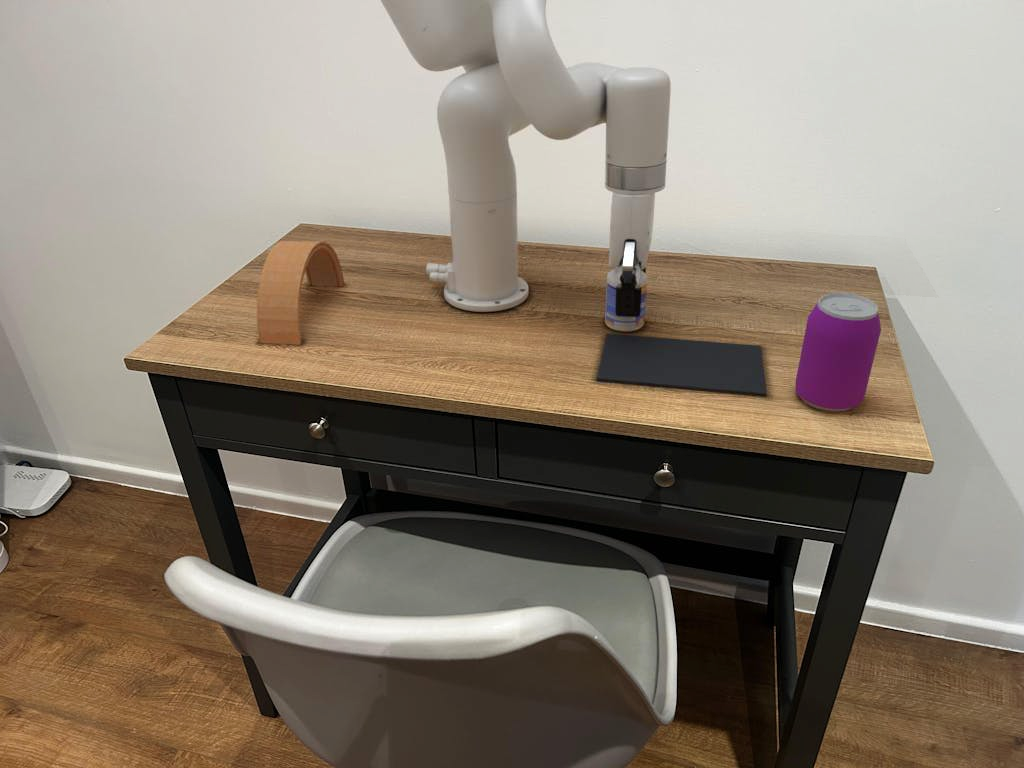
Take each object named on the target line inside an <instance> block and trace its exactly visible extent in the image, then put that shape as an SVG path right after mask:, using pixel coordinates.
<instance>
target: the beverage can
mask: <svg viewBox="0 0 1024 768" xmlns="http://www.w3.org/2000/svg"><path fill="white" fill-rule="evenodd" d="M881 332H882V326H881V321H880V313H879V306H878V305H877V304H876V303H875V302H874V301H872V299H869V298H867V297H865V296H862V295H858V294H854V293H849V292H847V293H846V292H833V293H827V294H825V295H822V296H821V297H820V298H818V301H817V302H816V303H815V306H814V307H813V308H812V310H811V311H810V313H809V315H808V316H807V319H806V326H805V331H804V334H803V335H804V336H803V339H802V346H801V351H800V356H799V362H798V367H797V370H796V371H797V372H796V378H795V387H794V388H795V389H794V390H795V392H796V394H797V395H798V397H800V398H801V400H802V401H803V402H804V403H806V405H809V406H810V407H812V408H815V409H818V410H821V411H824V412H825V411H826V412H832V413H834V412H836V413H839V412H840V413H841V412H845V411H849V410H851V409H854V408H856V407H858V406H859V405H861V403H862V402H863V400H864V398H865V397H866V392H867V389H868V384H869V380H870V376H871V372H872V368H873V364H874V360H875V357H876V351H877V349H878V344H879V340H880V337H881Z"/></svg>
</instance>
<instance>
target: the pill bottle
mask: <svg viewBox="0 0 1024 768" xmlns="http://www.w3.org/2000/svg"><path fill="white" fill-rule="evenodd" d="M634 264H638V262H634ZM618 273H619V265H618V267H617V268H613V269H610V271H609V272H608V273H607V274H606V275H607V276H606V287H605V288H606V292H605V316H604V317H605V318H604V322H605V325H606V326H607V327H608V328H610V329H611V330H614V331H618V332H634V331H638V330H640V329H641V328H642V327H644V324H645V318H646V317H645V315H646V303H647V302H646V301H647V289H648V288H647V287H648V277H647V274H645V273H644V272H643V271H642V270H641V273H640V286H639V287H642V290H641V313H640V316H639V317H628V316H617V315H616V313H615V312H616V286H618ZM633 274H635V277H636V271H633ZM635 280H636V279H635Z"/></svg>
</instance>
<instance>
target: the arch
mask: <svg viewBox="0 0 1024 768" xmlns="http://www.w3.org/2000/svg"><path fill="white" fill-rule="evenodd" d="M305 276H306V280H307V286H316V287H343V286H344V285H345V278H344V274H343V268H342V266H341V262H340V259H339V256H338V253H336V250H335V248H334V247H332V245H331V244H330V243H327V242H326V241H311V240H310V241H305V240H281V241H279V242H277V243H276V244H275V245H274V246H272V248H271V250H270V251H269V253H268V255H267V257H266V259H265V260H264V264H263V267H262V270H261V275H260V279H259V283H258V291H257V298H256V299H257V301H256V302H257V303H256V323H257V334H258V339H259V344H273V345H276V344H277V345H295V346H296V345H297V346H300V345H301V343H302V342H303V341H302V334H301V321H300V308H301V295H302V286H303V282H304V277H305Z"/></svg>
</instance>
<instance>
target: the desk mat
mask: <svg viewBox="0 0 1024 768" xmlns="http://www.w3.org/2000/svg"><path fill="white" fill-rule="evenodd" d="M602 349H603V350H602V354H601V356H600V357H601V358H600V362H599V365H598V366H599V367H598V371H597V375H596V381H597V382H606V383H615V384H616V383H617V384H628V385H637V386H638V385H639V386H647V387H648V386H650V387H660V388H671V389H673V388H674V389H680V390H681V389H682V390H692V391H705V392H715V393H727V394H737V395H746V396H747V395H749V396H759V397H767V387H766V386H767V385H766V379H765V370H764V369H765V368H764V361H763V354H762V346H761V345H756V344H745V343H733V342H732V343H731V342H720V341H719V342H718V341H707V340H696V339H695V340H694V339H680V338H669V337H657V336H644V335H632V334H631V335H630V334H618V333H606V336H605V340H604V345H603V348H602Z"/></svg>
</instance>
